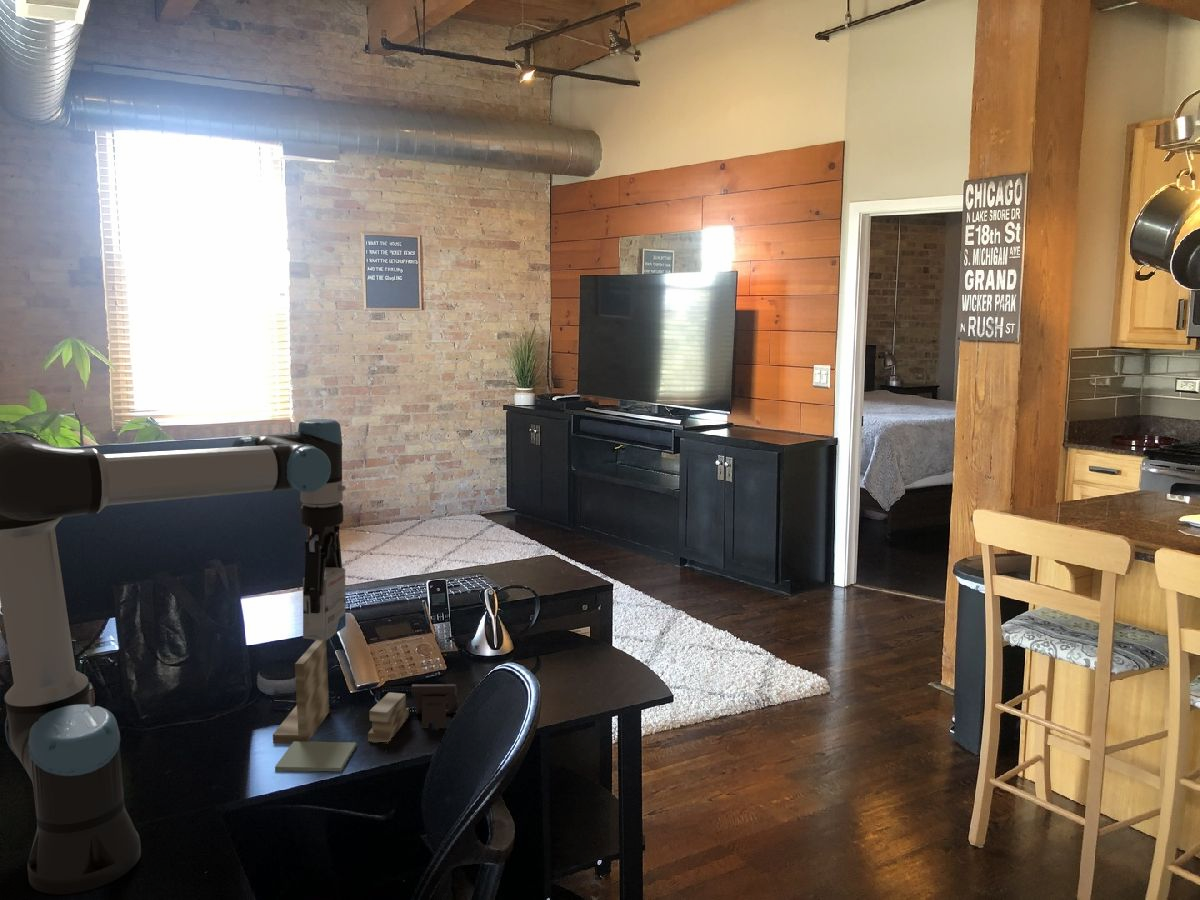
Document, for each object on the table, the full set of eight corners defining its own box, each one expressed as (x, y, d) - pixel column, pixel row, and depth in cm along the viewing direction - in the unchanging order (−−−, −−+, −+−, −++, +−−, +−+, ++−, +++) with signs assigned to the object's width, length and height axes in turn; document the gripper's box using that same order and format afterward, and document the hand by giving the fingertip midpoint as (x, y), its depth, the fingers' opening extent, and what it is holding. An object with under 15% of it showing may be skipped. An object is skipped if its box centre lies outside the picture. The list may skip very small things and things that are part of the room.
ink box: (323, 624, 189) (322, 565, 188) (347, 626, 188) (346, 567, 187) (302, 639, 181) (300, 577, 179) (327, 641, 180) (326, 579, 178)
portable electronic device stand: (460, 711, 202) (459, 673, 201) (456, 728, 194) (455, 688, 193) (417, 712, 202) (416, 673, 201) (411, 729, 194) (410, 689, 193)
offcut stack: (389, 744, 188) (388, 714, 187) (367, 742, 189) (366, 713, 188) (409, 717, 200) (409, 689, 199) (389, 716, 200) (388, 688, 199)
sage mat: (340, 772, 177) (340, 767, 177) (275, 770, 177) (274, 766, 177) (356, 746, 187) (356, 742, 186) (293, 745, 187) (293, 741, 187)
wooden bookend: (307, 743, 188) (303, 663, 185) (273, 742, 188) (268, 663, 186) (329, 711, 202) (325, 637, 199) (297, 711, 202) (293, 637, 199)
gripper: (325, 516, 170) (328, 640, 173) (357, 492, 192) (359, 603, 195) (282, 515, 170) (285, 639, 173) (319, 491, 192) (322, 602, 195)
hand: (324, 620), depth 184 cm, fingers closed on ink box, 9 cm apart
